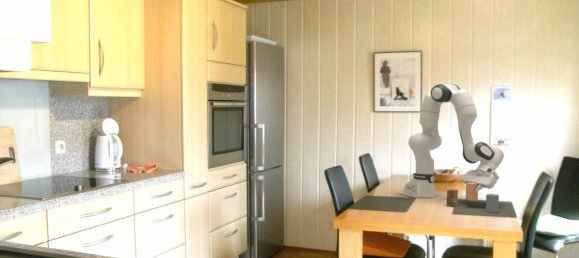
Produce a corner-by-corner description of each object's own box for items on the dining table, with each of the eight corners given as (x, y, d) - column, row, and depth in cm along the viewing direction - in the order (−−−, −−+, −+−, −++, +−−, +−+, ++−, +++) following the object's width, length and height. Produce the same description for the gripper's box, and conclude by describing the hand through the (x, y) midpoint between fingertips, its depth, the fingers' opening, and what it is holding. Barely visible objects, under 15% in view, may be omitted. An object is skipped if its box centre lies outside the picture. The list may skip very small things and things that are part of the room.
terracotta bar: (465, 199, 282) (466, 183, 281) (471, 198, 284) (471, 182, 283) (471, 200, 278) (472, 184, 277) (477, 199, 280) (478, 183, 279)
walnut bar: (446, 206, 283) (446, 190, 282) (449, 204, 286) (449, 189, 286) (454, 207, 280) (454, 191, 279) (457, 205, 283) (457, 189, 283)
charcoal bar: (485, 211, 269) (486, 194, 268) (490, 210, 272) (490, 193, 271) (493, 212, 265) (494, 195, 265) (498, 211, 268) (498, 194, 268)
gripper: (467, 165, 292) (454, 184, 288) (496, 170, 274) (482, 190, 270) (472, 173, 294) (459, 191, 291) (501, 178, 276) (488, 197, 273)
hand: (471, 190), depth 280 cm, fingers closed on terracotta bar, 4 cm apart
